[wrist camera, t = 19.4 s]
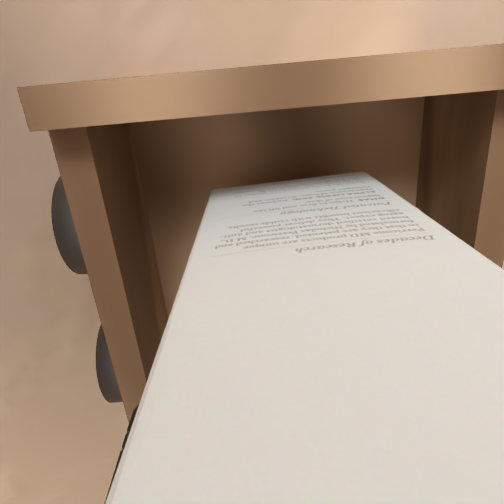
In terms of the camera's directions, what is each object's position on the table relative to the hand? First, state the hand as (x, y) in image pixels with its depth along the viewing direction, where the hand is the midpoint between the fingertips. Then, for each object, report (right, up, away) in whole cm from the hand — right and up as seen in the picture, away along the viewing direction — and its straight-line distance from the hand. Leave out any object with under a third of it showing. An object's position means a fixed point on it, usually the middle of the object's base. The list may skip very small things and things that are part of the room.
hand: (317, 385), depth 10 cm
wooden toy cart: (0, +3, +9) cm, 9 cm away
